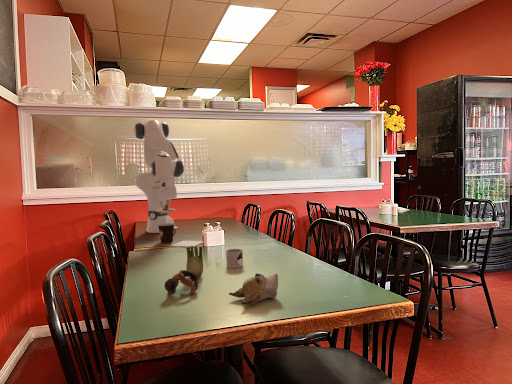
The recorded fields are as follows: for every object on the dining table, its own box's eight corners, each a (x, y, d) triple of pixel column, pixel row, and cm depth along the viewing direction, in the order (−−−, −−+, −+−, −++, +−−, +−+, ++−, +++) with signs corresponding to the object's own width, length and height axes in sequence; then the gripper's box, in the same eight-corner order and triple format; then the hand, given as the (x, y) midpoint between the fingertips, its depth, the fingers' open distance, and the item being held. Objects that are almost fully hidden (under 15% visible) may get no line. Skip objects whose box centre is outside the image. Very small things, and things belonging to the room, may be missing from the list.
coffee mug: (157, 241, 208) (156, 224, 208) (172, 239, 212) (172, 222, 211) (161, 245, 198) (160, 226, 197) (177, 243, 201) (176, 225, 201)
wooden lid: (162, 209, 211) (162, 203, 211) (178, 210, 208) (178, 204, 207) (152, 212, 201) (151, 206, 201) (168, 212, 198) (168, 206, 198)
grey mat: (183, 241, 206) (183, 240, 206) (204, 242, 202) (204, 241, 202) (171, 246, 194) (171, 245, 194) (193, 247, 190) (193, 246, 190)
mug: (240, 268, 147) (240, 252, 147) (224, 268, 148) (224, 252, 148) (246, 262, 157) (245, 247, 156) (231, 262, 158) (230, 246, 158)
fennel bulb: (205, 276, 139) (203, 244, 138) (198, 279, 134) (197, 247, 133) (191, 274, 141) (190, 244, 140) (184, 278, 136) (183, 246, 135)
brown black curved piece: (178, 287, 128) (189, 267, 127) (195, 304, 123) (207, 283, 122) (152, 289, 117) (164, 267, 117) (170, 307, 112) (182, 284, 112)
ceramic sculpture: (285, 272, 110) (239, 284, 103) (287, 300, 110) (242, 313, 104) (269, 265, 119) (226, 274, 113) (271, 290, 120) (228, 302, 113)
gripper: (169, 182, 214) (170, 205, 215) (148, 184, 195) (150, 210, 196) (179, 182, 212) (179, 205, 213) (159, 184, 193) (160, 210, 194)
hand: (165, 208), depth 204 cm, fingers closed on wooden lid, 3 cm apart
